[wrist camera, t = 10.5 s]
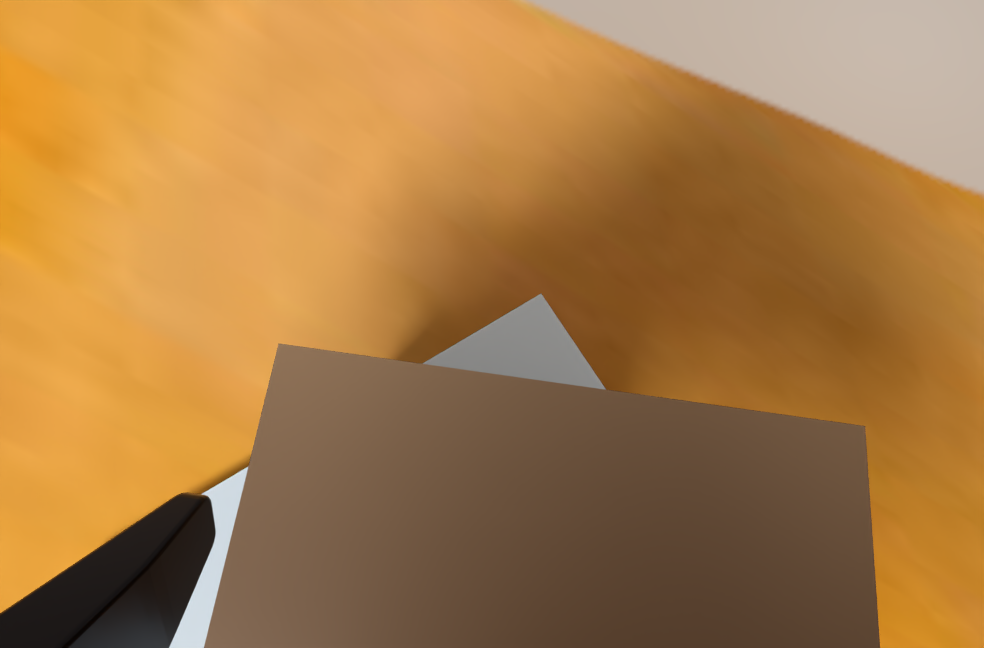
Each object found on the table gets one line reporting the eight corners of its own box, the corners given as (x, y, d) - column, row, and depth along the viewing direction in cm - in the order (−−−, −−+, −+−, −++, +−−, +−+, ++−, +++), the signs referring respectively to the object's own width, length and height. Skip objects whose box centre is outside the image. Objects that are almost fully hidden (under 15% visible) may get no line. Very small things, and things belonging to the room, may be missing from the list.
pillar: (535, 618, 15) (921, 1267, 3) (380, 599, 15) (65, 1207, 3) (550, 459, 17) (865, 425, 4) (407, 440, 16) (278, 343, 4)
